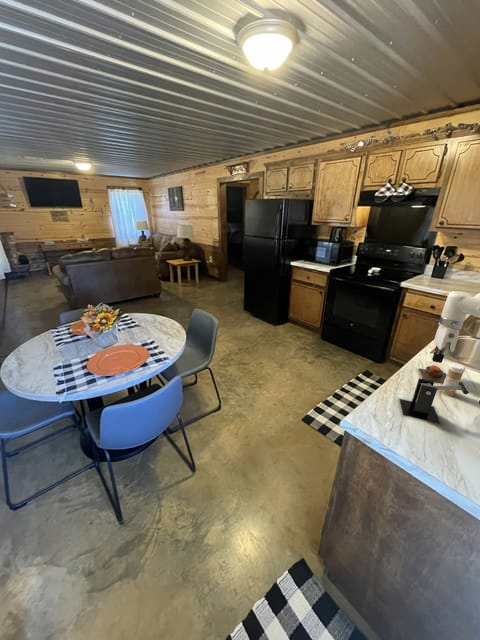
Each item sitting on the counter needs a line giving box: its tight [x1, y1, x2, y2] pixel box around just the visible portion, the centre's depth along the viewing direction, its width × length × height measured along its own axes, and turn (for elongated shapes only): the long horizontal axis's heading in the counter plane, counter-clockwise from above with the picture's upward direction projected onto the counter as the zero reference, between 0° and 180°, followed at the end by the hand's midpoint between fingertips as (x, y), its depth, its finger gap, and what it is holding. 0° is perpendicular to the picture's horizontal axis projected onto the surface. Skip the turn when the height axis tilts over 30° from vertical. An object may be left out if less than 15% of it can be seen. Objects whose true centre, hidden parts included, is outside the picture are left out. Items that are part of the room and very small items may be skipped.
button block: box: [418, 365, 447, 384], centre depth 113 cm, size 10×9×4 cm
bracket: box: [399, 378, 441, 425], centre depth 92 cm, size 11×9×13 cm
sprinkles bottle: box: [440, 362, 466, 397], centre depth 101 cm, size 5×5×13 cm
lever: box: [421, 381, 469, 395], centre depth 88 cm, size 12×5×2 cm, turn 68°
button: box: [430, 364, 441, 373], centre depth 113 cm, size 3×3×2 cm
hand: (436, 361), depth 112 cm, fingers closed
